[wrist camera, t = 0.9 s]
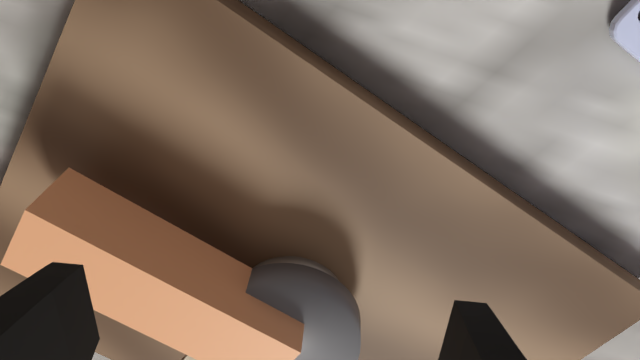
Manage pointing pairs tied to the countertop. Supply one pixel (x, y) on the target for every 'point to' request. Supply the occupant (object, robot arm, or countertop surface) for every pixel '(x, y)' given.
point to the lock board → (300, 182)
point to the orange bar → (183, 281)
